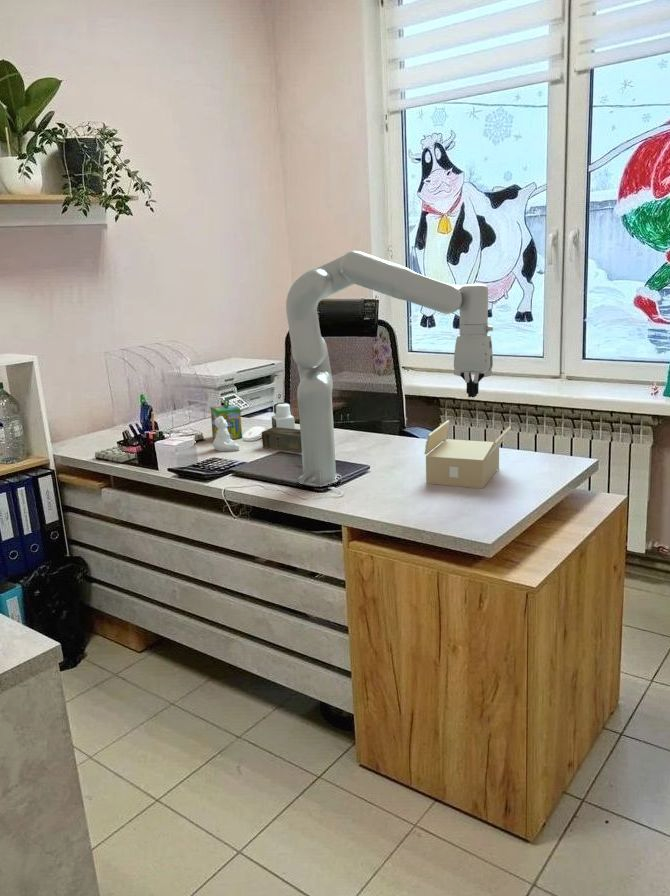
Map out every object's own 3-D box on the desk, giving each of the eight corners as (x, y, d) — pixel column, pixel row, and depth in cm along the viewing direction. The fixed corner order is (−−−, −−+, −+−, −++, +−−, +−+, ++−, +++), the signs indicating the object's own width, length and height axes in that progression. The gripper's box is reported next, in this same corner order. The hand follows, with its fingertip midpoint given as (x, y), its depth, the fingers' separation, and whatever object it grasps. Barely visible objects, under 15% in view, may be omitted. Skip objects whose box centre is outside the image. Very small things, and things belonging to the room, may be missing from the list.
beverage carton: (308, 453, 243) (307, 434, 241) (261, 449, 252) (259, 430, 250) (320, 447, 249) (319, 429, 248) (273, 443, 258) (272, 425, 257)
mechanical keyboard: (127, 467, 238) (126, 457, 237) (90, 461, 249) (89, 451, 248) (207, 441, 268) (206, 432, 267) (172, 437, 279) (171, 428, 278)
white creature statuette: (241, 450, 250) (238, 416, 247) (216, 454, 247) (213, 419, 244) (234, 444, 258) (231, 412, 255) (210, 448, 255) (207, 414, 252)
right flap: (483, 458, 195) (486, 460, 195) (494, 441, 193) (496, 443, 193) (499, 442, 212) (501, 443, 212) (509, 426, 210) (511, 427, 209)
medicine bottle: (272, 434, 272) (270, 402, 269) (290, 431, 274) (288, 400, 271) (276, 438, 265) (274, 406, 262) (295, 435, 267) (293, 404, 264)
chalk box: (212, 437, 272) (208, 398, 268) (235, 433, 275) (232, 395, 272) (219, 442, 264) (215, 402, 260) (243, 438, 267) (240, 399, 264)
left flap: (446, 438, 219) (443, 437, 219) (449, 420, 217) (447, 420, 217) (426, 454, 202) (423, 453, 202) (430, 435, 200) (427, 434, 200)
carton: (482, 488, 197) (482, 460, 195) (426, 483, 204) (425, 456, 202) (499, 468, 215) (499, 442, 213) (446, 464, 221) (446, 439, 219)
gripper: (503, 329, 198) (502, 395, 202) (450, 328, 204) (450, 392, 209) (497, 332, 191) (495, 400, 196) (442, 331, 197) (442, 397, 202)
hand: (472, 396), depth 202 cm, fingers closed
